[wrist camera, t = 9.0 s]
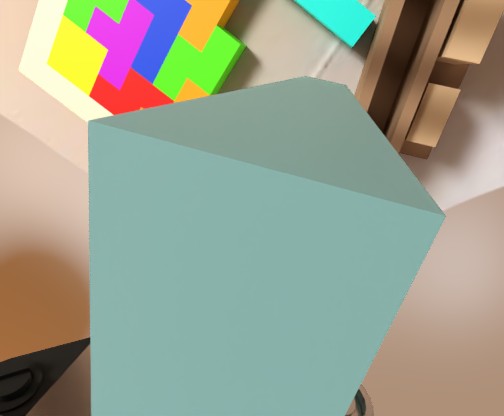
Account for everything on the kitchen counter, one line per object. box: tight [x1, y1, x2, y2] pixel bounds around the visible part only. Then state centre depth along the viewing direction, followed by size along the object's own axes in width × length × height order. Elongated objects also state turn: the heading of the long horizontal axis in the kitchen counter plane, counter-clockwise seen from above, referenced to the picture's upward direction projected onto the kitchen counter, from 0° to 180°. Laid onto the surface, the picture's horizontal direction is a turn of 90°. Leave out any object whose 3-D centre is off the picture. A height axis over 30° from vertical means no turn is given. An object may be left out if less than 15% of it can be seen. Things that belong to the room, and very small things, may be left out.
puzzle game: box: [19, 0, 376, 123], centre depth 35 cm, size 30×3×30 cm
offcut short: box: [405, 83, 461, 147], centre depth 31 cm, size 5×3×4 cm, turn 168°
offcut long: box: [436, 0, 504, 65], centre depth 27 cm, size 6×3×6 cm, turn 168°
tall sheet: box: [88, 76, 446, 416], centre depth 11 cm, size 12×2×16 cm, turn 168°
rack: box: [355, 0, 469, 159], centre depth 30 cm, size 16×9×6 cm, turn 168°
